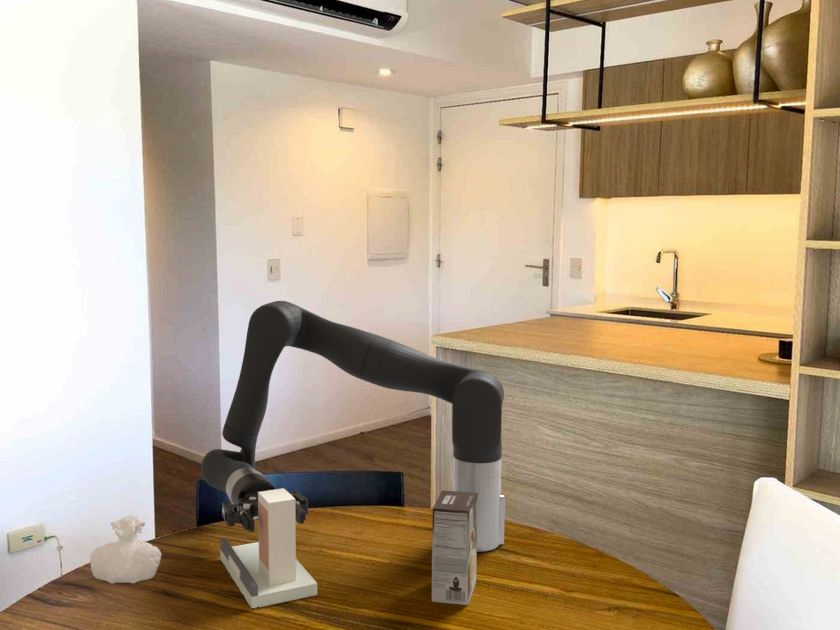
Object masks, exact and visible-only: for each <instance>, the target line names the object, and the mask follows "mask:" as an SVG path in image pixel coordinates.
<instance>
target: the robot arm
mask: <svg viewBox="0 0 840 630" xmlns="http://www.w3.org/2000/svg"><path fill="white" fill-rule="evenodd" d="M245 338H246V339H245V346H244V351H243V353H244V354H243V358H242V362H241V368H240V372H239V377H238V381H237V384H236V388H235V391H234V394H233V397H232V401H231V404H230V407H229V410H228V413H227V416H226V418H225V421H224V424H223V428H222V434H221V435H222V437H223V440H224V441H226V442H228V443H229V444H231V445H234V446H235V447H238V448H240V451H236V450H235V451H233V450H228V449H220V448H216V449H212V450H209V451H208V452H207V453H206V454H205V455H204V457H203V458H202V462H201V465H200V472H201V476H202V478H203V480H204V482H206V484H207V485H208V486H210V487H212V488H214V489H216V490H218V491H221V492H224V493H225V495H226V496H227V497H228V500H229V501H228V500H225V501H224V500H223V501H222V502H221V508H222V509H221V513H222V514H221V516H222V518H223V519H224V521H225V524H226V526H227V527H234V526H235V525H236V524H238V525H239V526H240V527H242V528H243V529H244V530H246V531H248V532H249V533H254V532H255V521H258V492H262V491H269V490H275V489H276V487H275V486H274V484H273V483H272V482H271V481H270V480H269V479H267V477H265V476H264V474H262V473H261V472H260V471H257V469H256V449H257V442H258V438H259V437H258V436H259V432H260V430H261V428H262V425H263V422H264V419H265V415H266V411H267V406H268V401H269V392H270V391H269V390H270V383H271V379H272V378H271V377H272V374H273V371H274V369H275V365H276V363H277V361H278V359H279V357H280V355H281V354H282V352H283V350H284V348H286V347H292V348H295V349H299V350H304V351H307V352H310V353H313V354H316V355H318V356H321V357H322V358H324V359H326V360H328V361H329V362H331V363H332V364H333V365H335V367H338V368H339V369H340V370H342V371H344V372H345V373H346V374H348V375H350V376H352V377H355V378H356V379H359V380H362V381H365V382H367V383H370V384H373V385H374V386H378V387H381V388H385V389H390V390H394V391H402V392H411V393H417V394H418V393H419V394H425V395H427V396H428V395H429V396H432V397H436V398H438V399H440V400H442V401H445V402H447V403H449V404H451V405H452V408H451V425H452V426H451V440H452V447H453V449H452V450H453V458H452V459H453V461H452V462H453V463H452V491H459V492H474V493H478V499H477V552H478V553H479V552H480V553H481V552H488V551H493V550H495V549H497V548H498V547H499V546H501V545H504V543H505V512H506V510H505V508H506V507H505V506H506V498H505V497H506V496H505V495H504V494H502V493H501V492H502V456H503V455H502V452H503V445H502V417H503V415H502V414H503V403H504V399H505V391H504V388H503V385H502V383H501V381H500V380H499V379H498V378H497V377H496V376H495V375H493V374H492V373H490V372H487V371H485V370H481V369H477V368H472V367H467V366H463V365H459V364H455V363H453V362H448V361H445V360H442V359H439V358H436V357H434V356H431V355H430V354H427V353H425V352H423V351H420V350H417V349H415V348H413V347H410V346H408V345H405V344H403V343H400V342H398V341H394V340H392V339H390V338H387V337H384V336H381V335H379V334H376V333H372V332H369V331H366V330H363V329H359V328H355V327H354V326H353V327H352V326H350V325H345V324H341V323H337V322H335V321H332V320H328V319H326V318H325V317H321V316H320V315H317V314H316V313H313V312H312V311H309V310H308V309H305V308H303V307H301V306H299V305H297V304H295V303H292V302H289V301H287V300H275V301H272V302H267V303H265V304H262V305H260V306H259V307H257V308H256V309H255V310H254V311H253V312H252V313H251V315H250V317H249V321H248V324H247V332H246V337H245ZM290 494H291V495H292V496H293V497H294V498H295V514H296V522H297V524H299V525H302V524H304V523H305V521H306V518H307V517H306V515H308V514H309V499H308V498H307V497H305V496H304V495H303V494H302V493H300V492H299V491H297V490H292V491H291V492H290Z"/></svg>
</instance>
